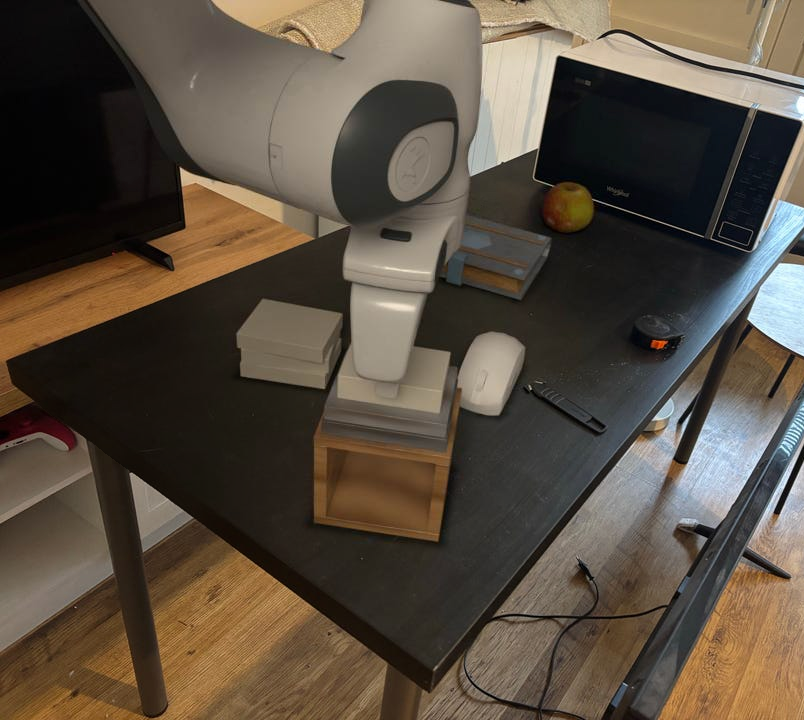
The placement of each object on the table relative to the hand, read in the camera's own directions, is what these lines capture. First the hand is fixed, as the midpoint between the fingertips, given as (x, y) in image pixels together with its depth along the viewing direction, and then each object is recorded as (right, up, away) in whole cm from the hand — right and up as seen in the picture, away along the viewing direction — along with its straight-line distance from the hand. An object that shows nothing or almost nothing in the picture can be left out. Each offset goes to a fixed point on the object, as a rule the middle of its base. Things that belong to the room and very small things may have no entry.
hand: (397, 359), depth 65 cm
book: (+6, +15, +52) cm, 55 cm away
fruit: (+22, +23, +67) cm, 74 cm away
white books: (-16, 0, +25) cm, 29 cm away
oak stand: (-2, -14, +10) cm, 17 cm away
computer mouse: (+8, -3, +27) cm, 28 cm away
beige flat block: (0, -2, +1) cm, 3 cm away
